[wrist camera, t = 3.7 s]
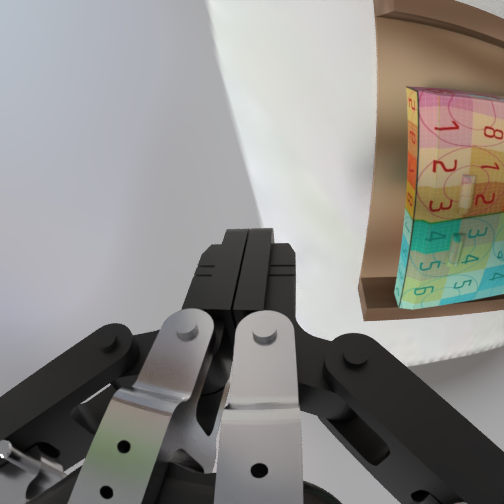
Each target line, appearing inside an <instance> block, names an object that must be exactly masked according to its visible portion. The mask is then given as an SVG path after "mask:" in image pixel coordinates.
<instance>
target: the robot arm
mask: <svg viewBox="0 0 504 504" xmlns="http://www.w3.org/2000/svg"><path fill="white" fill-rule="evenodd" d="M194 275H195V276H194V277H193V279H192V282H191V285H190V287H189V290H188V293H187V296H186V298H185V301H184V304H183V306H182V310H180V311H178V312H176V313H174V314H172V315H171V316H169V317H168V318H167V319H166V320H165V322H164V323H163V325H162V327H161V329H160V330H157V331H153V332H149V333H143V334H138V335H132V333H131V331H130V330H129V328H128V327H126V326H125V325H122V324H118V323H113V324H108V325H105V326H103V327H101V328H99V329H98V330H96V331H95V332H93V333H92V334H90V335H89V336H88V337H86V338H84V339H83V340H81V341H80V342H79V343H77V344H76V345H74V346H73V347H71V348H70V349H68V350H67V351H65V352H64V353H63V354H61V355H60V356H58V357H57V358H55V359H54V360H52V361H51V362H49V363H48V364H47V365H45V366H44V367H42V368H41V369H39V370H38V371H36V372H35V373H34V374H33V375H31V376H29V377H28V378H27V379H25V380H24V381H22V382H21V383H19V384H18V385H17V386H15V387H14V388H12V389H11V390H10V391H8V392H7V393H5V394H4V395H3V396H1V397H0V504H342V503H341V502H340V501H339V500H338V499H336V498H335V497H334V496H333V495H332V494H330V493H329V492H327V491H325V490H324V489H322V488H320V487H318V486H316V485H314V484H311V483H308V482H306V481H303V464H302V437H301V415H300V410H301V411H304V412H307V413H311V414H314V415H317V416H318V418H319V419H320V421H321V422H322V423H323V424H324V425H325V426H326V427H327V428H328V429H329V430H330V432H331V433H332V434H333V435H334V436H335V437H336V438H337V439H338V440H339V441H340V442H341V443H342V444H343V445H344V446H345V448H346V449H347V450H348V451H349V452H350V453H351V454H352V455H353V456H354V457H355V458H356V459H357V460H358V461H359V462H360V463H361V464H362V465H363V466H364V467H365V468H366V469H367V470H368V471H369V472H370V473H371V474H372V475H373V476H374V477H375V478H376V479H377V480H378V481H379V482H380V483H381V484H382V485H383V486H384V487H385V488H386V489H387V490H388V491H389V492H390V493H391V494H392V495H393V496H394V497H395V498H396V499H397V500H398V501H399V502H400V503H401V504H504V452H503V451H502V450H501V449H500V448H499V447H498V446H496V445H495V444H494V443H493V442H492V441H491V440H490V439H488V438H487V437H486V436H485V435H484V434H483V433H482V432H481V431H479V430H478V429H477V428H476V427H475V426H474V425H473V424H472V423H470V422H469V421H468V420H467V419H466V418H465V417H464V416H462V415H461V414H460V413H459V412H458V411H457V410H456V409H454V408H453V407H452V406H451V405H450V404H449V403H448V402H446V401H445V400H444V399H443V398H442V397H441V396H439V395H438V394H437V393H436V392H435V391H434V390H432V389H431V388H430V387H429V386H428V385H427V384H426V383H424V382H423V381H422V380H421V379H420V378H419V377H417V376H416V375H415V374H414V373H413V372H411V370H409V369H408V368H407V367H406V366H405V365H404V364H402V363H401V362H400V361H399V360H398V359H397V358H395V357H394V356H393V355H392V354H391V353H390V352H388V351H387V350H386V349H385V348H384V347H383V346H381V345H380V344H379V343H378V342H377V341H375V340H374V339H373V338H371V337H369V336H367V335H364V334H359V333H348V334H344V335H341V336H339V337H337V338H335V339H334V340H333V341H328V340H325V339H321V338H317V337H314V336H312V335H310V334H308V333H307V332H305V331H304V330H303V329H302V328H301V327H300V326H299V324H298V323H297V321H296V318H295V312H296V260H295V252H294V250H293V249H292V247H291V246H290V244H289V243H274V233H273V228H258V229H257V228H256V229H227V230H226V233H225V236H224V239H223V242H222V244H220V245H218V244H217V245H211V246H210V247H209V248H208V249H207V250H206V251H205V252H204V253H203V254H202V256H201V258H200V261H199V264H198V268H197V269H196V272H195V274H194ZM232 361H233V366H232ZM231 366H232V378H231V379H230V372H231ZM109 383H110V384H111V385H110V386H109V387H108V388H106V389H105V390H103V391H102V392H100V393H99V394H98V395H96V396H95V397H93V398H92V399H91V400H89V401H88V402H86V403H83V404H80V403H82V402H83V401H85V400H86V399H87V398H89V397H90V396H92V395H93V394H95V393H96V392H97V391H99V390H100V389H102V388H103V387H105V386H106V385H108V384H109ZM230 384H231V389H230V399H229V404H228V406H226V407H225V403H226V400H227V396H228V392H229V388H230ZM224 407H225V408H224ZM221 418H222V420H221ZM220 422H221V430H220V440H219V452H218V462H217V473H212V471H213V467H214V463H215V459H216V437H217V433H218V429H219V426H220ZM84 458H85V461H84V463H83V465H82V466H80V467H79V468H78V469H76V470H75V471H73V472H72V473H70V474H69V475H66V474H65V473H64V471H65V470H67V469H68V468H70V467H72V466H73V465H75V464H76V463H78V462H79V461H81V460H82V459H84Z"/></svg>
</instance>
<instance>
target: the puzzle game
mask: <svg viewBox="0 0 504 504" xmlns="http://www.w3.org/2000/svg"><path fill="white" fill-rule="evenodd" d="M406 93H407V116H408V163H407V187H406V202H405V215H404V225H403V235H402V243H401V251H400V259H399V266H398V272H397V279H396V285H395V291H394V294H395V298H396V301H397V304H398V308H404V309H412V310H413V309H420V308H427V307H434V306H440V305H446V304H453V303H458V302H464V301H470V300H475V299H480V298H486V297H491V296H496V295H501V294H504V96H499V95H493V94H487V93H480V92H472V91H464V90H454V89H443V88H430V87H409V86H406Z"/></svg>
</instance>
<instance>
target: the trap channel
mask: <svg viewBox="0 0 504 504" xmlns="http://www.w3.org/2000/svg"><path fill="white" fill-rule="evenodd" d="M373 1H374V12H375V26H376V44H377V127H376V147H375V161H374V174H373V185H372V195H371V204H370V213H369V221H368V228H367V236H366V242H365V249H364V256H363V262H362V268H361V274H360V279H359V285H358V292H359V297H360V302H361V308H362V314H363V319H364V321H380V320H399V319H415V318H429V317H441V316H452V315H462V314H472V313H481V312H489V311H497V310H504V294H501V295H496V296H491V297H486V298H480V299H475V300H470V301H464V302H458V303H453V304H446V305H440V306H434V307H427V308H420V309H413V310H412V309H404V308H398V304H397V301H396V298H395V294H394V291H395V285H396V279H397V272H398V266H399V259H400V251H401V243H402V235H403V225H404V215H405V202H406V187H407V163H408V116H407V93H406V86H409V87H430V88H443V89H454V90H464V91H472V92H480V93H487V94H493V95H499V96H504V19H502V18H500V17H498V16H496V15H493V14H491V13H488V12H486V11H483V10H480V9H478V8H475V7H472V6H470V5H467V4H464V3H461V2H458V1H454V0H373Z"/></svg>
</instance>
